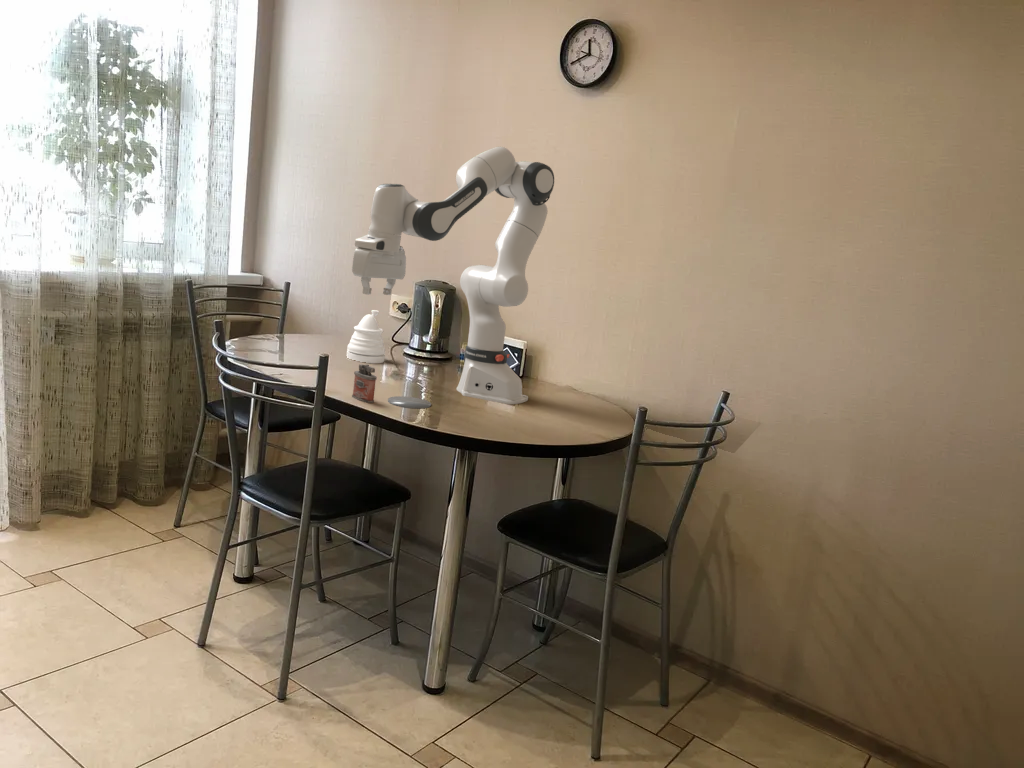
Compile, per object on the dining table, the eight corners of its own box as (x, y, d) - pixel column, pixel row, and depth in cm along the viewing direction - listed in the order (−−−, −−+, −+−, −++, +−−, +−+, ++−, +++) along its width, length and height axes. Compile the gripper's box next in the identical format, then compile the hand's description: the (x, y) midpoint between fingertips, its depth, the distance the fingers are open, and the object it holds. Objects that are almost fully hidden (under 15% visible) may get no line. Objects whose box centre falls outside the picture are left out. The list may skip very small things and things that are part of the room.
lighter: (348, 397, 220) (352, 362, 218) (358, 396, 222) (362, 361, 220) (366, 404, 214) (370, 368, 213) (376, 403, 217) (380, 367, 215)
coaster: (438, 406, 224) (439, 403, 224) (415, 412, 214) (416, 409, 213) (403, 397, 229) (403, 394, 229) (379, 402, 218) (379, 399, 218)
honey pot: (372, 358, 283) (377, 308, 280) (390, 366, 273) (396, 314, 270) (339, 358, 275) (344, 306, 271) (357, 366, 265) (362, 312, 262)
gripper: (395, 244, 226) (389, 293, 228) (351, 239, 208) (344, 291, 210) (414, 248, 224) (407, 296, 226) (370, 242, 205) (364, 296, 208)
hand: (377, 294), depth 218 cm, fingers open, 8 cm apart
